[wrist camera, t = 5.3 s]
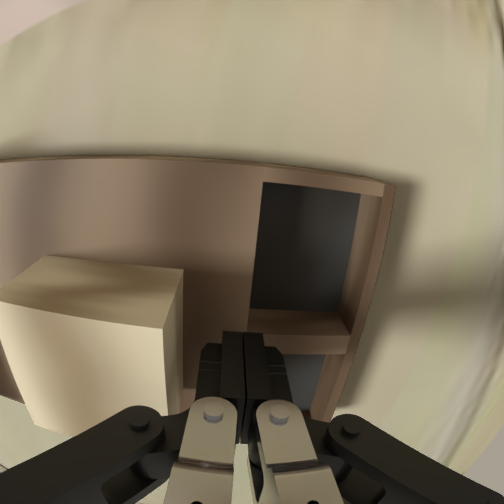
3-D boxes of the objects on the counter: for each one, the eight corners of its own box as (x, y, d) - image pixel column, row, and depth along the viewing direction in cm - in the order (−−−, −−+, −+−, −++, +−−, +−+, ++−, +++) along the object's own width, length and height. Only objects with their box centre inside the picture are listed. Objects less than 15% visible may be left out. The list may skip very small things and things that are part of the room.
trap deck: (369, 177, 13) (441, 201, 8) (314, 410, 18) (333, 481, 13) (-41, 164, 11) (-108, 182, 6) (-1, 367, 16) (-37, 415, 11)
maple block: (183, 269, 12) (162, 328, 8) (183, 388, 14) (172, 456, 10) (45, 255, 11) (-12, 298, 7) (67, 368, 13) (35, 424, 9)
